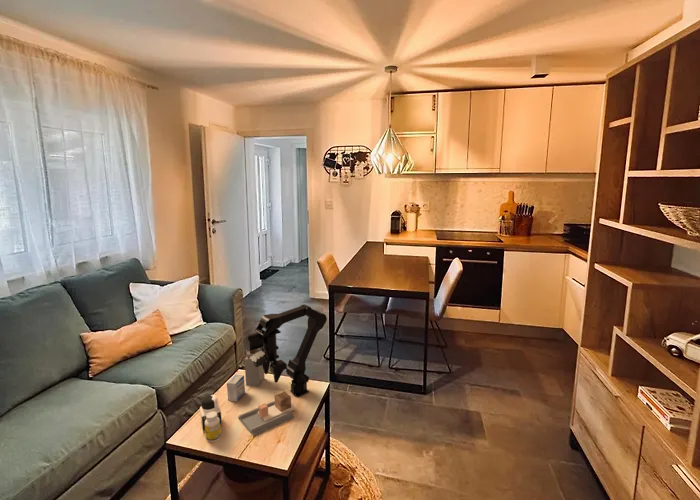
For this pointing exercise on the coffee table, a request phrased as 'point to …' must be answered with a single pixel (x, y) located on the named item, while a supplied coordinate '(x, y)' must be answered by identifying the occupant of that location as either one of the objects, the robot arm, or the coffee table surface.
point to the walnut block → (282, 401)
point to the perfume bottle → (253, 371)
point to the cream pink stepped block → (271, 412)
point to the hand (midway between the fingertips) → (271, 378)
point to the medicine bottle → (209, 409)
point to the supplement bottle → (212, 427)
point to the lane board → (258, 424)
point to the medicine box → (236, 388)
